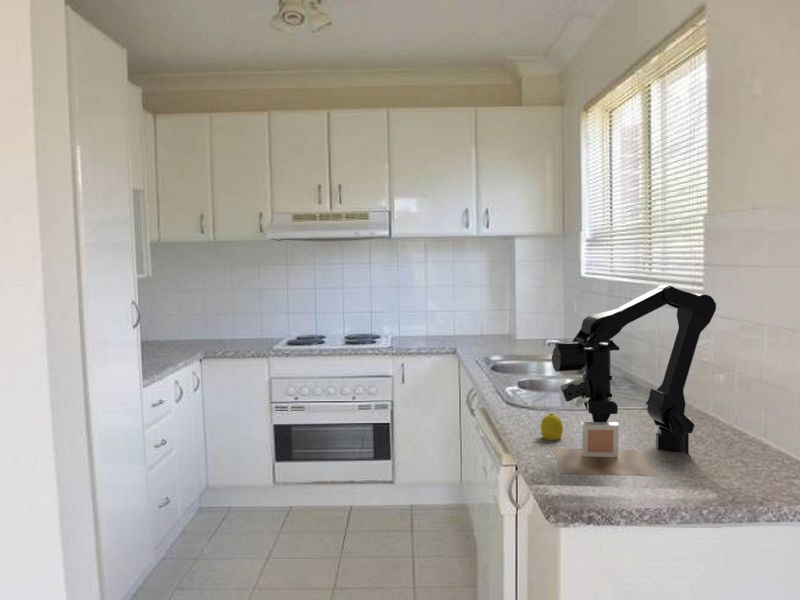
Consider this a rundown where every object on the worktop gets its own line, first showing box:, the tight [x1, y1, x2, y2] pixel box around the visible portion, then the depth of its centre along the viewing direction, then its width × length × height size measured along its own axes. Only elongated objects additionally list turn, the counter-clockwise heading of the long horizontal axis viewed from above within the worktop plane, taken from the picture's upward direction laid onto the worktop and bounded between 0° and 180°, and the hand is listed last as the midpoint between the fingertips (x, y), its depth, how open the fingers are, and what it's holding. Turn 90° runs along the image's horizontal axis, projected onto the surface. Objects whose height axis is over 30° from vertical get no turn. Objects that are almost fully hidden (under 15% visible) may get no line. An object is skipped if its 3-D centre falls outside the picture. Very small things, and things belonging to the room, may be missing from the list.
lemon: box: [540, 412, 564, 441], centre depth 164 cm, size 6×6×8 cm
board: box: [554, 447, 658, 477], centre depth 145 cm, size 20×18×2 cm
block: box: [581, 421, 620, 457], centre depth 148 cm, size 8×2×8 cm, turn 80°
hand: (598, 434), depth 150 cm, fingers closed
